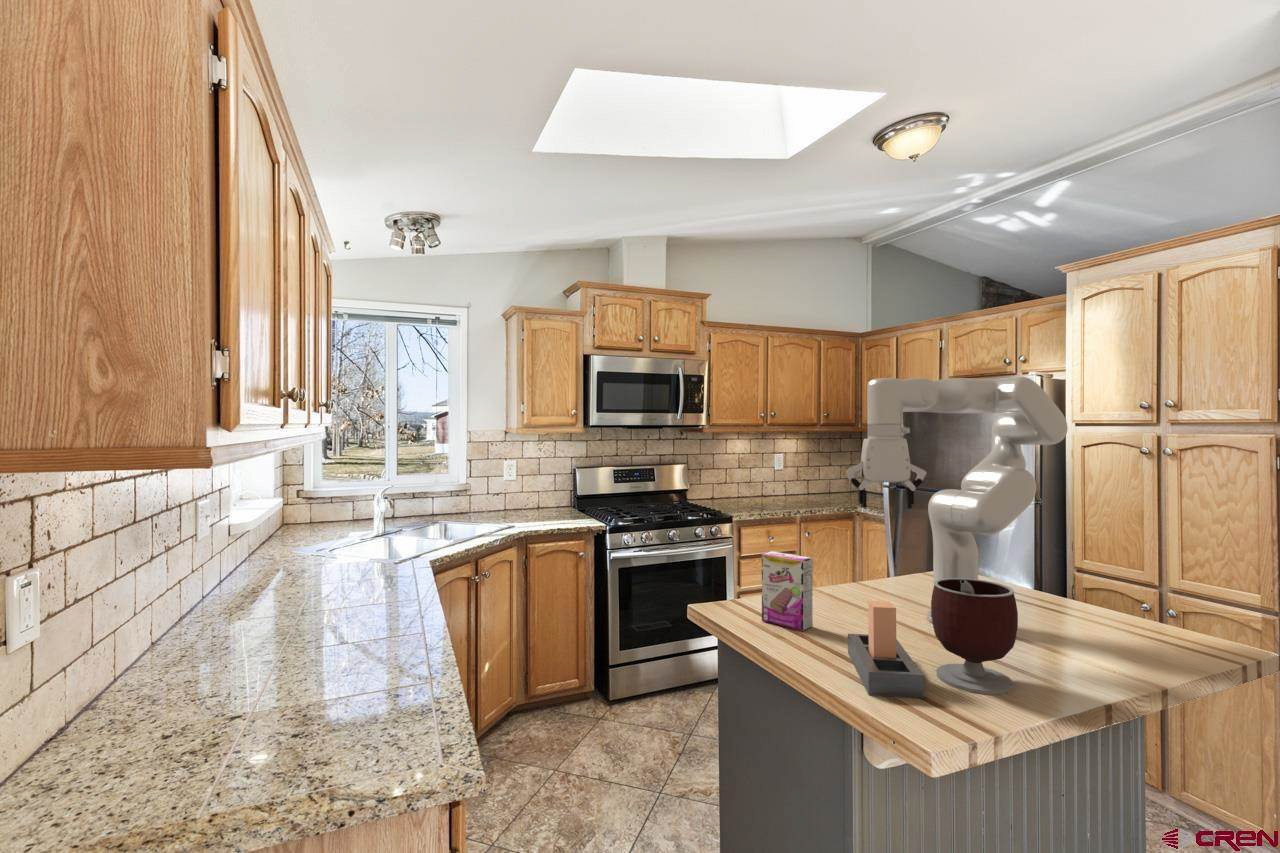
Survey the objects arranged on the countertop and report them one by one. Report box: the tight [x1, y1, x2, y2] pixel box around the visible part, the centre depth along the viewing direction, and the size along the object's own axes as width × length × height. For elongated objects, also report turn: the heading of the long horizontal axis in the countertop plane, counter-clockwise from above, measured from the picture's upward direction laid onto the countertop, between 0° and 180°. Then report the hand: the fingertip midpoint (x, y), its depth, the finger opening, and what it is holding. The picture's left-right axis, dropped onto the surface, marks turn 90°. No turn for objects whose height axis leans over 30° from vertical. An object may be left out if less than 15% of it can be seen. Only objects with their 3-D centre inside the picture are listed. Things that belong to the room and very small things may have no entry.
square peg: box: [867, 600, 897, 658], centre depth 112 cm, size 4×4×13 cm
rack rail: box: [847, 633, 925, 700], centre depth 112 cm, size 9×20×4 cm, turn 171°
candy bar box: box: [761, 550, 813, 632], centre depth 142 cm, size 11×5×16 cm, turn 47°
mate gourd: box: [930, 578, 1019, 696], centre depth 109 cm, size 16×14×20 cm
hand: (885, 507), depth 136 cm, fingers open, 9 cm apart
